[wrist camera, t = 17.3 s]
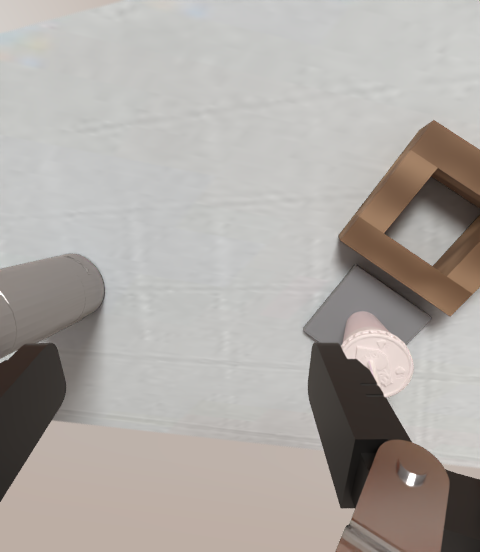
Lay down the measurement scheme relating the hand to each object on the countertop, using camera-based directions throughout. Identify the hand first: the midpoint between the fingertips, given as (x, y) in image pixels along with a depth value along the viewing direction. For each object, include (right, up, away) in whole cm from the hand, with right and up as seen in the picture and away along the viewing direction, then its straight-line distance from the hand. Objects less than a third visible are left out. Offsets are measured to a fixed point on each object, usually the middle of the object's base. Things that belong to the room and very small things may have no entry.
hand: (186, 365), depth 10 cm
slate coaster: (+16, -3, +28) cm, 33 cm away
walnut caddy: (+22, +9, +24) cm, 34 cm away
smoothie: (+16, -3, +28) cm, 32 cm away
